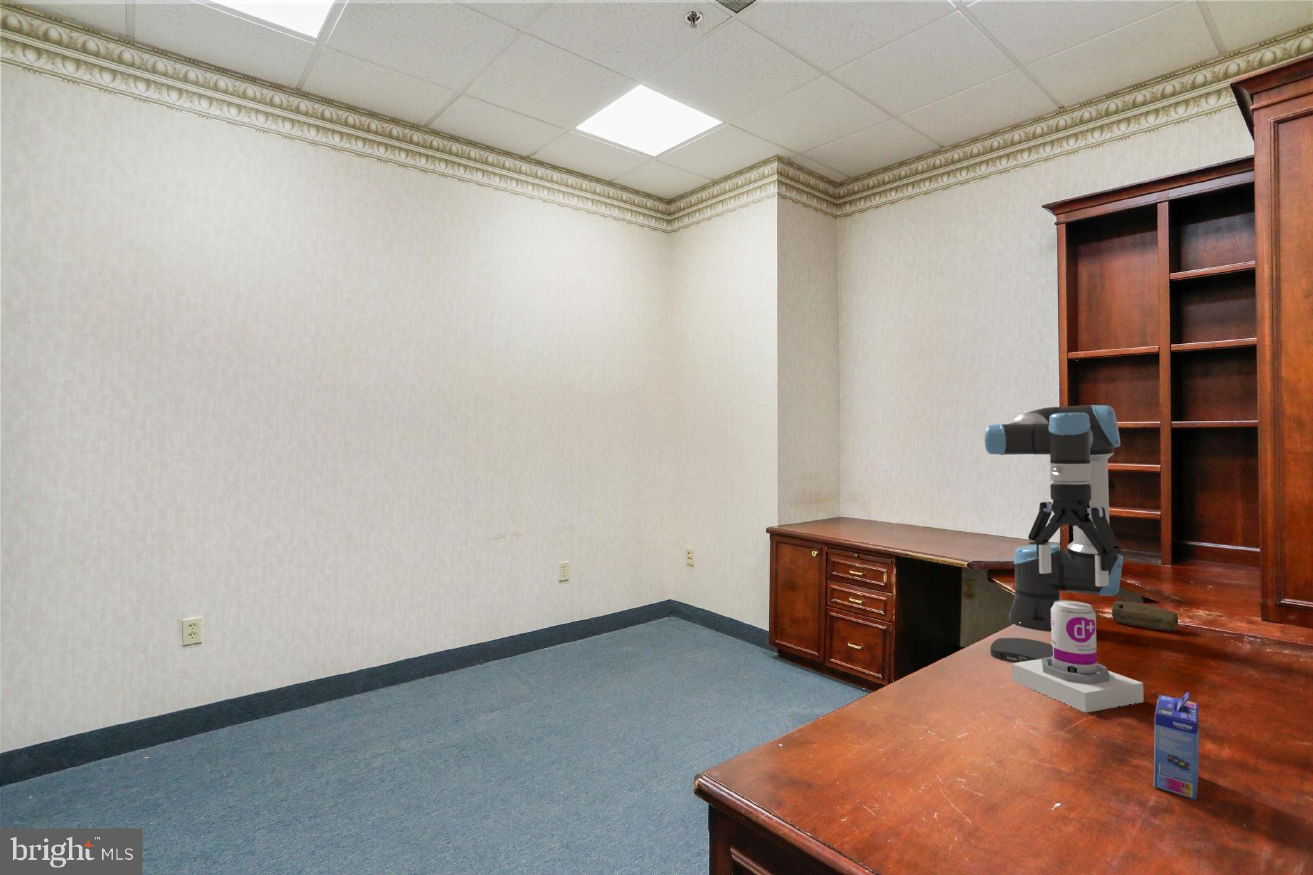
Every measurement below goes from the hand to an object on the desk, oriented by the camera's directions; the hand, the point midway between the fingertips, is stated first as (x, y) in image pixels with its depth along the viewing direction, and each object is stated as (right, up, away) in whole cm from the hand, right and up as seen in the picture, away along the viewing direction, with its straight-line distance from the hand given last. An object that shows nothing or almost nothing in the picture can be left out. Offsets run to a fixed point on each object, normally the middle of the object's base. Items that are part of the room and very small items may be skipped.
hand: (1072, 579), depth 139 cm
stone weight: (+51, -24, +45) cm, 72 cm away
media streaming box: (+3, -25, +23) cm, 34 cm away
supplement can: (0, -21, 0) cm, 21 cm away
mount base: (0, -25, 0) cm, 25 cm away
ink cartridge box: (-7, -25, -37) cm, 45 cm away
